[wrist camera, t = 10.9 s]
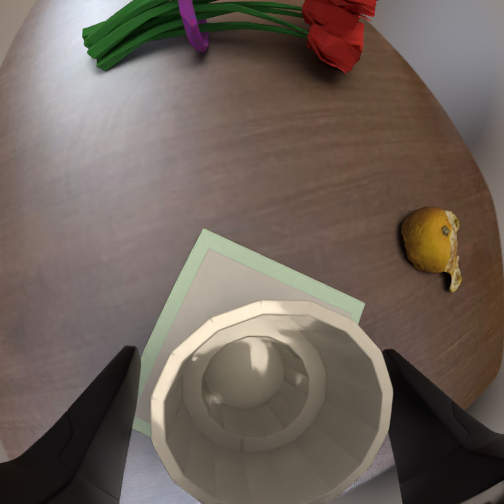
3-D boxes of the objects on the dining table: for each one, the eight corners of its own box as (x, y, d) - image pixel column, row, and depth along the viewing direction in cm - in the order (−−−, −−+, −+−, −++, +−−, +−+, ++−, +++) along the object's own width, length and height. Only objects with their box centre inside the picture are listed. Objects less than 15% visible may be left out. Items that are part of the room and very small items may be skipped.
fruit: (459, 293, 22) (486, 287, 19) (396, 285, 22) (423, 278, 18) (454, 214, 25) (477, 201, 21) (393, 194, 24) (416, 177, 20)
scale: (277, 470, 17) (285, 487, 14) (124, 410, 17) (112, 421, 14) (351, 305, 21) (370, 302, 18) (204, 237, 21) (203, 224, 18)
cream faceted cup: (271, 437, 15) (328, 529, 6) (168, 395, 15) (118, 470, 6) (317, 340, 17) (421, 349, 8) (215, 295, 17) (216, 255, 7)
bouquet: (124, 60, 32) (332, 25, 30) (105, 148, 28) (375, 105, 26) (68, -38, 13) (341, -89, 11) (0, 30, 9) (425, -52, 7)
